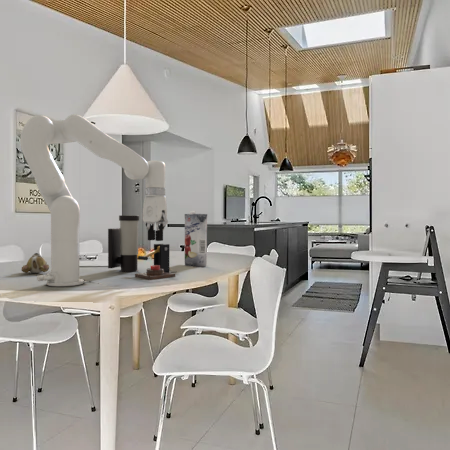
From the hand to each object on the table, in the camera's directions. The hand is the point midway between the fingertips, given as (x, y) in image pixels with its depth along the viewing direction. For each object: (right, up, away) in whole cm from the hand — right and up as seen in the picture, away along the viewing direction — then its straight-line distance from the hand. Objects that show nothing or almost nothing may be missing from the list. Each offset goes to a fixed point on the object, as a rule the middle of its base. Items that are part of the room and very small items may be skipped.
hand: (155, 240), depth 168 cm
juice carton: (+13, -15, +45) cm, 49 cm away
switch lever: (-2, -7, +11) cm, 13 cm away
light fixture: (-15, -15, +18) cm, 28 cm away
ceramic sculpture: (-53, -15, +17) cm, 58 cm away
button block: (0, -15, 0) cm, 15 cm away
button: (0, -12, 0) cm, 12 cm away
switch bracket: (0, -15, +14) cm, 20 cm away
